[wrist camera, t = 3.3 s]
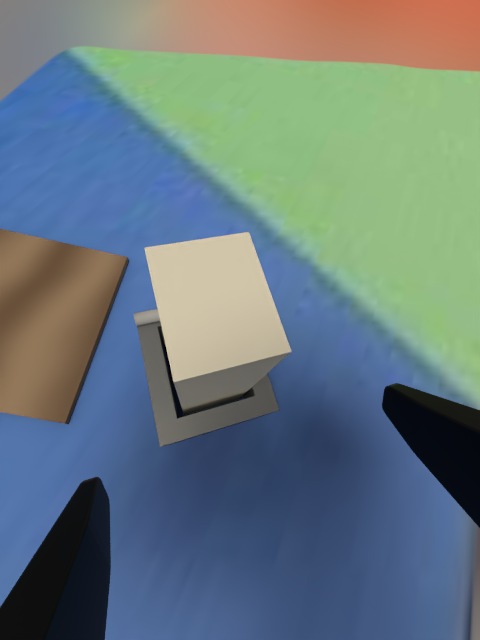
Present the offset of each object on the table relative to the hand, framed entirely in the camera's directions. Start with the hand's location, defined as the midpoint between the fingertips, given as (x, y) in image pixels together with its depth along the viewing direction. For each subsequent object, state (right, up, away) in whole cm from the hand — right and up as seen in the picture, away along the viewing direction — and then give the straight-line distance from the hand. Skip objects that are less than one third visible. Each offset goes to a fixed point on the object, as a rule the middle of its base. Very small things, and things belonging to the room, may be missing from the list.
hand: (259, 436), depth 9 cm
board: (-17, +4, +13) cm, 22 cm away
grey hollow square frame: (-3, -1, +13) cm, 14 cm away
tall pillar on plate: (-3, -1, +13) cm, 14 cm away
